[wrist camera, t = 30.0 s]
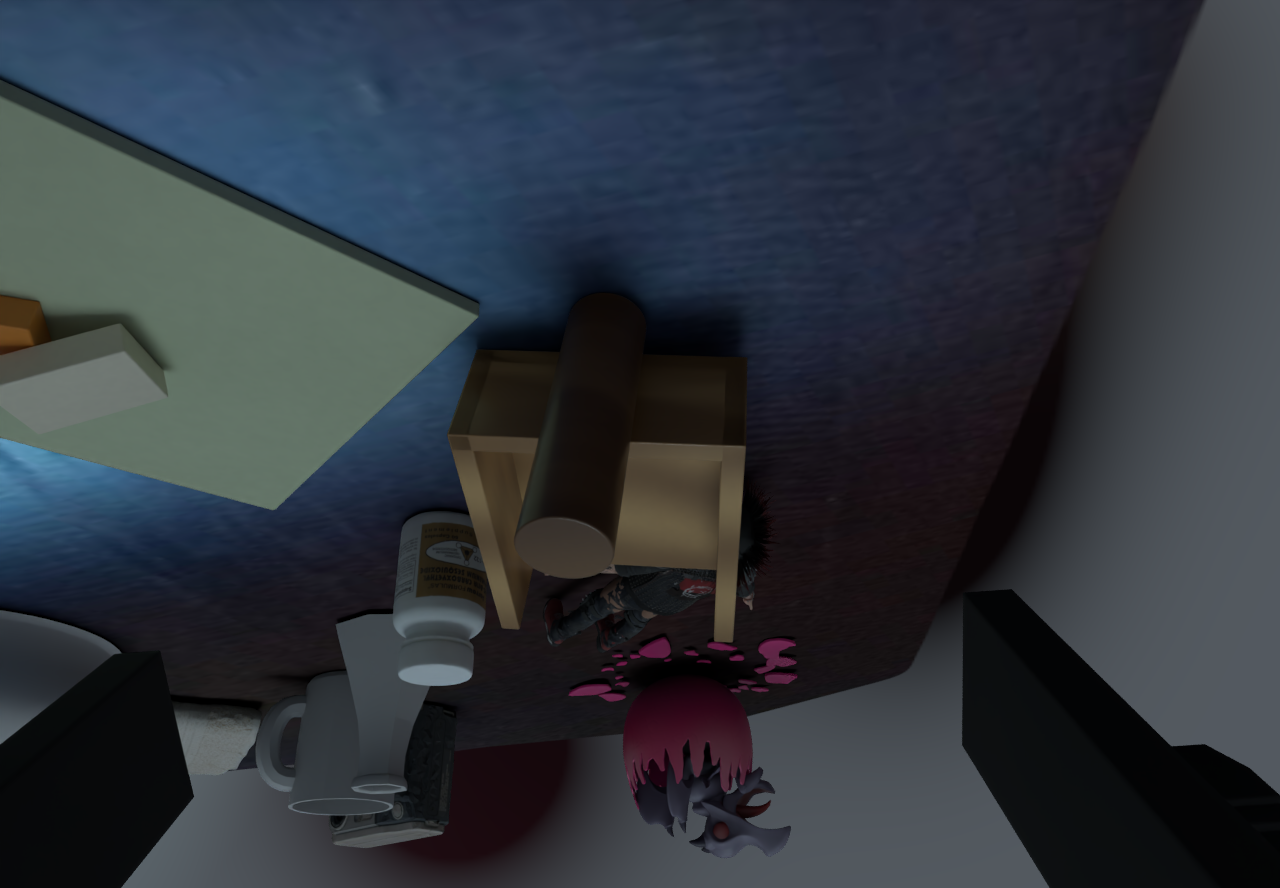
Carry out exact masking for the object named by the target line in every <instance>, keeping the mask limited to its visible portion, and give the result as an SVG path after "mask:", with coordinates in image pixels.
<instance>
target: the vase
mask: <svg viewBox="0 0 1280 888" xmlns="http://www.w3.org/2000/svg"><path fill="white" fill-rule="evenodd" d="M120 653H121V652H120V650H119V649H117V648H116V647H115V646H114V645H113V644H111V643H110V642H108V641H106V640H105V639H103V638H101V637H99V636H97V635H94V634H92V633H89V632H87V631H85V630H82V629H79V628H76V627H73V626H70V625H66V624H63V623H60V622H56V621H52V620H48V619H44V618H39V617H35V616H30V615H25V614H20V613H14V612H8V611H3V610H0V744H1V743H3V742H4V741H5V740H6V739H8V738H9V737H10V736H11V735H13V734H14V733H15V732H16V731H18V730H19V729H20V728H22V727H23V726H24V725H25V724H27V723H28V722H29V721H30V720H32V719H33V718H34V717H35V716H37V715H38V714H39V713H40V712H42V711H43V710H44V709H45V708H47V707H48V706H49V705H51V704H52V703H53V702H54V701H56V700H57V699H58V698H59V697H61V696H62V695H63V694H64V693H66V692H67V691H68V690H69V689H71V688H72V687H73V686H74V685H76V684H77V683H78V682H80V681H81V680H82V679H83V678H85V677H86V676H87V675H88V674H90V673H91V672H92V671H93V670H95V669H96V668H97V667H98V666H100V665H101V664H102V663H103V662H105V661H106V660H107V659H109V658H110V657H111V656H112V655H114V654H120Z"/></svg>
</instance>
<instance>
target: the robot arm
mask: <svg viewBox="0 0 1280 888" xmlns="http://www.w3.org/2000/svg"><path fill="white" fill-rule="evenodd" d="M962 712H963V713H962V714H963V715H962V718H963V719H962V745H963V747H964V749H965V750H966V752H967V753H968V755H969V757H970V759H971V760H972V762H973V763H974V765H975V766H976V768H977V770H978V771H979V773H980V775H981V776H982V778H983V780H984V781H985V783H986V785H987V786H988V788H989V790H990V791H991V793H992V794H993V796H994V798H995V799H996V801H997V803H998V804H999V806H1000V807H1001V809H1002V811H1003V812H1004V814H1005V816H1006V817H1007V819H1008V821H1009V822H1010V824H1011V825H1012V827H1013V829H1014V830H1015V832H1016V833H1017V835H1018V837H1019V839H1020V840H1021V842H1022V843H1023V845H1024V847H1025V848H1026V850H1027V852H1028V853H1029V855H1030V857H1031V858H1032V860H1033V861H1034V863H1035V865H1036V866H1037V868H1038V870H1039V871H1040V872H1041V874H1042V876H1043V878H1044V879H1045V881H1046V882H1047V884H1048V886H1049V888H1280V795H1279V794H1278V793H1277V792H1276V791H1275V790H1273V789H1272V788H1271V787H1270V786H1269V785H1268V784H1266V782H1265V781H1263V780H1262V779H1261V778H1260V777H1259V776H1257V774H1256V773H1254V772H1253V771H1252V770H1251V769H1250V768H1248V767H1246V766H1245V765H1243V764H1241V763H1239V762H1237V761H1235V760H1233V759H1231V758H1230V757H1227V756H1226V755H1224V754H1222V753H1220V752H1218V751H1216V750H1214V749H1213V748H1211V747H1209V746H1207V745H1205V744H1202V745H1187V746H1170V745H1169V744H1168V743H1167V742H1166V741H1165V740H1164V739H1163V738H1162V737H1161V736H1160V735H1159V734H1158V733H1157V732H1156V731H1155V730H1154V729H1153V728H1152V727H1151V726H1150V725H1149V724H1148V723H1147V722H1146V721H1145V720H1144V719H1143V718H1142V717H1141V716H1140V715H1139V714H1138V713H1137V712H1136V711H1135V710H1134V709H1133V708H1132V707H1131V706H1130V705H1128V703H1127V702H1126V701H1125V700H1124V699H1123V698H1121V697H1120V695H1118V694H1117V693H1116V692H1115V691H1114V690H1113V689H1112V688H1111V687H1110V686H1109V685H1108V684H1107V683H1106V682H1105V681H1104V680H1103V679H1102V678H1101V677H1100V676H1099V675H1098V674H1097V673H1096V672H1095V671H1094V670H1093V669H1092V668H1091V667H1090V666H1089V665H1088V664H1087V663H1086V662H1085V661H1084V660H1083V659H1082V658H1081V657H1080V656H1079V655H1078V654H1077V653H1076V652H1075V651H1074V650H1073V649H1072V648H1071V647H1070V646H1069V645H1068V644H1066V642H1065V641H1063V639H1061V638H1060V637H1059V636H1058V635H1057V634H1056V633H1055V632H1054V631H1053V630H1052V629H1051V628H1050V627H1049V626H1048V625H1047V624H1046V623H1045V622H1044V621H1043V620H1042V619H1041V618H1040V617H1039V616H1038V615H1037V614H1036V613H1035V612H1034V611H1033V610H1032V609H1031V608H1030V607H1029V606H1028V605H1027V604H1026V603H1025V602H1024V601H1023V600H1022V599H1021V598H1020V597H1019V596H1018V595H1017V594H1016V593H1015V592H1014V591H1013V590H1012V589H1009V590H995V591H981V592H968V593H963V710H962ZM193 797H194V795H193V790H192V786H191V782H190V777H189V773H188V769H187V764H186V760H185V756H184V752H183V747H182V743H181V739H180V734H179V730H178V726H177V721H176V717H175V713H174V709H173V704H172V700H171V696H170V691H169V687H168V683H167V678H166V674H165V670H164V666H163V661H162V657H161V653H160V651H147V652H133V653H120V654H114V655H112V656H111V657H110V658H109V659H107V660H106V661H105V662H103V663H102V664H101V665H100V666H98V667H97V668H96V669H95V670H93V671H92V672H91V673H90V674H88V675H87V676H86V677H85V678H83V679H82V680H81V681H80V682H78V683H77V684H76V685H74V686H73V687H72V688H71V689H69V690H68V691H67V692H66V693H64V694H63V695H62V696H61V697H59V698H58V699H57V700H56V701H54V702H53V703H52V704H51V705H49V706H48V707H47V708H45V709H44V710H43V711H42V712H40V713H39V714H38V715H37V716H35V717H34V718H33V719H32V720H30V721H29V722H28V723H27V724H25V725H24V726H23V727H22V728H20V729H19V730H18V731H16V732H15V733H14V734H13V735H11V736H10V737H9V738H8V739H6V740H5V741H4V742H3V743H1V744H0V888H121V887H122V886H123V885H124V883H125V882H126V881H127V880H128V878H129V877H130V876H131V875H132V873H133V872H134V871H135V870H136V868H137V867H138V866H139V865H140V864H141V862H142V861H143V860H144V859H145V857H146V856H147V854H149V852H150V851H151V850H152V849H153V847H154V846H155V845H156V843H157V842H158V841H159V840H160V838H161V837H162V836H163V835H164V834H165V832H166V831H167V830H168V829H169V827H170V826H171V825H172V824H173V822H174V821H175V820H176V819H177V817H178V816H179V815H180V814H181V812H182V811H183V810H184V809H185V807H186V806H187V805H188V803H189V802H190V801H191V800H192V799H193Z"/></svg>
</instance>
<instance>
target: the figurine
mask: <svg viewBox="0 0 1280 888" xmlns="http://www.w3.org/2000/svg"><path fill="white" fill-rule="evenodd" d="M745 479H746V478H745ZM750 481H751V480H750ZM752 481H753V479H752ZM746 482H747V481H746ZM755 484H756V483H755ZM755 484H754V486H755ZM760 485H761V484H760ZM746 486H747V489H746V494H745V497H744V500H745V501H743V503H744V502H745V503H744V504H742V513H741V528H740V543H739V558H738V572H737V587H736V595H738V596H740V597H743V600H744V602H745V603H746V604H748V605H749V607H750V610H752V600H753V598H754V596H753V595H755V594H753V593H754V592H753V590H754V588H755V584H754V577H755V576H756V573H757V572H756V571H759V570H760V569H759V567H758V566H760V565H761V566H763V565H762V564H764V562H763V561H765V560H763V558H766V559H767V560H768V558H767V557H770V556H769V555H768V554H767V553H766V552H765V551H773V550H767V549H766V548H765V547H766V546H763V545H762V544H760V543H763V544H770V543H775V542H771V541H767V540H768V539H770V538H771V536H772V537H774V536H773V535H775V534H773V535H765V534H769V533H767V532H770V531H768V530H767V528H770V524H771V523H773V522H774V521H773V522H772V520H769V521H771V522H770V523H766V522H769V521H765V520H767V519H769V518H768V517H765V516H766V515H765V513H766V512H764V511H765V510H766V509H768V508H769V507H768V508H765V509H763V508H764V507H766V506H767V505H766V504H767V502H768V500H769V499H770V497H769V499H768V500H767V501H764V499H763V500H762V501H761V502H760V500H761V499H762V498H763V497H765V496H766V495H767V494H766V495H763V494H764V493H762V494H761V492H760V493H759V494H760V496H759V494H757V493H755V490H754V491H753V489H754V487H753V486H752V484H751V487H750V490H749V486H750V483H749V481H748V483H747V485H746ZM746 486H745V488H746ZM752 487H753V488H752ZM759 487H760V486H759ZM755 489H756V487H755ZM758 489H760V488H758ZM763 489H764V488H763ZM749 491H750V492H749ZM764 491H765V490H764ZM756 492H758V491H756ZM753 493H754V494H755V495H758V496H759V497H758V496H757V497H756V496H755V495H753ZM768 494H769V493H768ZM752 495H753V497H752ZM761 495H763V496H762V497H761ZM773 496H774V495H773ZM755 497H756V498H755ZM760 497H761V498H760ZM749 499H750V500H749ZM748 501H749V503H748ZM763 501H764V502H763ZM759 502H760V504H759ZM773 502H774V501H773ZM771 503H772V502H771ZM758 504H759V505H758ZM769 504H770V503H769ZM769 504H768V505H769ZM762 506H763V507H762ZM763 512H764V513H763ZM770 513H771V512H770ZM766 514H768V512H767V513H766ZM760 515H761V516H760ZM764 515H765V516H764ZM769 515H770V514H769ZM769 515H768V516H769ZM763 516H764V517H765V518H767V519H765V518H764V517H763ZM769 517H770V516H769ZM773 517H774V516H773ZM762 518H763V519H764V520H763V519H762ZM770 518H772V517H770ZM775 521H776V519H775ZM758 522H759V523H758ZM774 523H775V522H774ZM762 528H763V529H762ZM770 529H772V528H770ZM773 530H774V529H773ZM773 530H771V531H773ZM762 531H764V532H762ZM778 533H779V532H778ZM770 534H771V532H770ZM776 535H778V534H777V533H776ZM768 537H770V538H768ZM763 538H766V540H763ZM767 538H768V539H767ZM778 544H780V543H778ZM760 549H761V550H760ZM762 550H763V551H764V552H765V553H764V552H763V551H762ZM761 555H762V556H761ZM759 559H761V560H762V561H761V560H759ZM766 562H767V561H766ZM755 563H756V564H757V563H758V564H760V565H758V564H757V565H758V566H757V565H756V564H755ZM769 563H770V562H769ZM764 565H765V566H768V565H766V564H764ZM761 566H760V567H761ZM763 567H764V566H763ZM769 567H771V566H769ZM755 568H756V569H757V570H756V569H755ZM764 568H766V567H764ZM764 568H763V569H764ZM766 569H767V568H766ZM767 570H768V569H767ZM760 571H761V570H760ZM760 571H759V572H760ZM761 572H762V571H761ZM761 572H760V573H761ZM600 573H617V574H619V576H618V577H617V578H615V579H614V580H612V581H611V582H610V583H609V584H608V585H607V586H606V587H605V588H601V589H597V590H595V591H594V592H592V593H591V592H589V593H590V594H589V595H585V596H586V598H585V599H583V602H582V603H580V607H579V608H578V609H576V610H573V611H568V612H572V613H570V614H569V616H566V617H564V615H563V606H562V603H561V601H560V600H559V599H557V598H553V599H550V600H549V601H548V602H547V603H546V605H545V608H544V611H543V618H544V621H545V624H546V628H547V638H548V641H549V643H550V644H551V646H554V647H555V646H558V645H560V643H561V642H562V641H563V640H564V639H567V638H570V637H572V636H573V635H577V634H581V631H582V630H584V629H586V628H587V627H589V626H590V625H592V624H594V623H595V625H596V628H597V630H598V636H597V649H598V651H599V652H601V653H602V652H606V651H607V650H609V649H610V648H611V647H614V646H615V645H617V644H619V643H622V642H625V641H628V640H629V639H630V638H632V637H633V636H635V635H636V634H638V633H639V632H640V631H641V630H642V629H643V628H644V627H645V626H646V624H647V623H648V622H649V621H650V620H651V619H652V617H654V616H656V615H658V614H659V615H666V616H668V615H673V614H675V613H678V612H680V611H683V610H684V609H686V608H687V607H689V606H690V605H692V604H693V603H694V602H696V601H697V600H699V599H702V598H705V597H707V598H708V597H709V596H711V595H714V594H716V573H717V570H709V569H690V568H671V567H652V566H633V565H615V564H610V565H609V566H608V567H607V568H606V569H605V570H604V571H602V572H600ZM760 573H759V574H760ZM762 573H763V574H765V573H764V572H762ZM762 573H761V574H762ZM757 574H758V573H757ZM759 574H758V575H759ZM761 574H760V575H761ZM544 575H545V576H546V575H548V574H544ZM760 575H759V576H760ZM760 577H761V576H760ZM755 583H756V582H755ZM756 584H757V583H756ZM700 601H701V600H700ZM621 610H625V612H624V617H625V618H624V617H621V616H620V617H619V618H620V619H623V620H621V621H619V622H617V623H616V624H615V621H614V619H616V618H614V615H613V613H615V612H618V611H621ZM617 616H619V615H616V616H615V617H617Z"/></svg>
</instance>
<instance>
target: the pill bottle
mask: <svg viewBox="0 0 1280 888" xmlns="http://www.w3.org/2000/svg"><path fill="white" fill-rule="evenodd" d="M486 584H487V573H486V570H485V566H484V563H483V559H482V556H481V552H480V549H479V545H478V542H477V538H476V534H475V531H474V527H473V524H472V520H471V517H470V516H469V515H466V514H462V513H458V512H451V511H431V512H424V513H421V514H418V515H416V516H414V517H412V518H410V519H409V520H408V521H407V522H406V523H405V524H404V526H403V528H402V533H401V542H400V551H399V561H398V571H397V581H396V591H395V600H394V609H393V624H394V627H395V629H396V630H397V632H398V633H399V634H400V635H402V636H403V637H405V638H406V640H405V641H403V642H402V643H401V645H400V649H401V650H400V651H399V660H398V676H399V678H400V679H402V680H404V681H406V682H409V683H413V684H418V685H427V686H445V685H454V684H459V683H462V682H465V681H467V680H469V679H470V678H471V676H472V672H473V660H474V652H473V645H472V643H470V642H469V639H471V638H473V637H474V636H476V635H477V634H478V633H479V632H480V631H481V630H482V628H483V626H484V622H485V610H486Z"/></svg>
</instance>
